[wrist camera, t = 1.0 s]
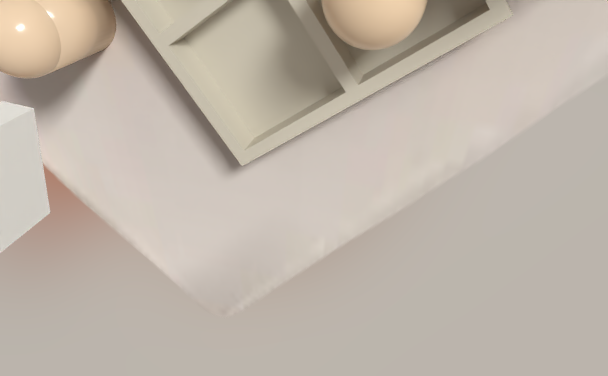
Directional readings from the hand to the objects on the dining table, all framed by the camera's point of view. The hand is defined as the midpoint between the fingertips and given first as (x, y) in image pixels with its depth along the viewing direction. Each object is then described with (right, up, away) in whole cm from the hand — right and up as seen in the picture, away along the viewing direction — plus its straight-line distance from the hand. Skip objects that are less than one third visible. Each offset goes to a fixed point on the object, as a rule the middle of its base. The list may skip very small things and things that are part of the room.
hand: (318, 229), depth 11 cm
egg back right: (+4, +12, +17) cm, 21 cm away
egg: (-14, +12, +23) cm, 29 cm away
